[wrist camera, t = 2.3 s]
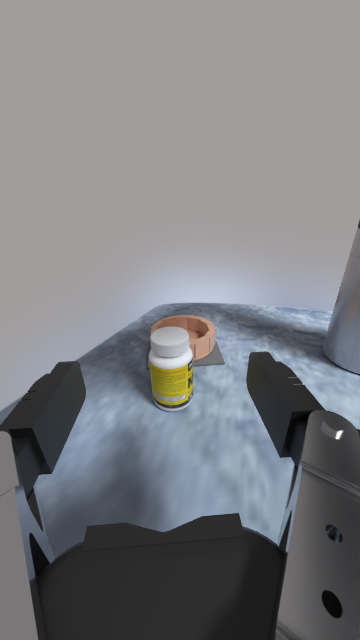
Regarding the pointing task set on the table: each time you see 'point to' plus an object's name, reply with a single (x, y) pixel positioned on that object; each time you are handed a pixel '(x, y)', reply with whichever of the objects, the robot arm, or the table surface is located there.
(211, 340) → the bowl
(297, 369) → the table surface
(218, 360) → the mat
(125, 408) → the table surface
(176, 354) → the supplement bottle
